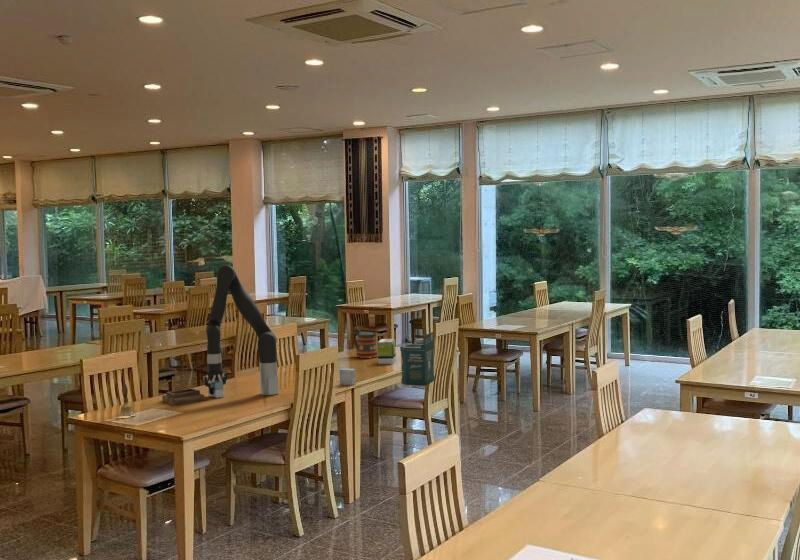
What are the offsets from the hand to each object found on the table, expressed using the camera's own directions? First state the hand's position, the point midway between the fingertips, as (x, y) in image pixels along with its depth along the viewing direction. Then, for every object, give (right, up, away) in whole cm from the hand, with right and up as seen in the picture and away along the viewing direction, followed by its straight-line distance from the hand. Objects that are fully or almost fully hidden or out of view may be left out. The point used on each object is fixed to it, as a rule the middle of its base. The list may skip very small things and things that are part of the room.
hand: (215, 393), depth 426 cm
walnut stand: (-15, -3, -8) cm, 17 cm away
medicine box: (+69, +1, +25) cm, 73 cm away
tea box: (+90, +6, +100) cm, 134 cm away
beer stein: (+74, +7, +125) cm, 145 cm away
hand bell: (-33, -5, -43) cm, 54 cm away
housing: (0, -1, 0) cm, 1 cm away
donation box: (+108, +2, +25) cm, 111 cm away
